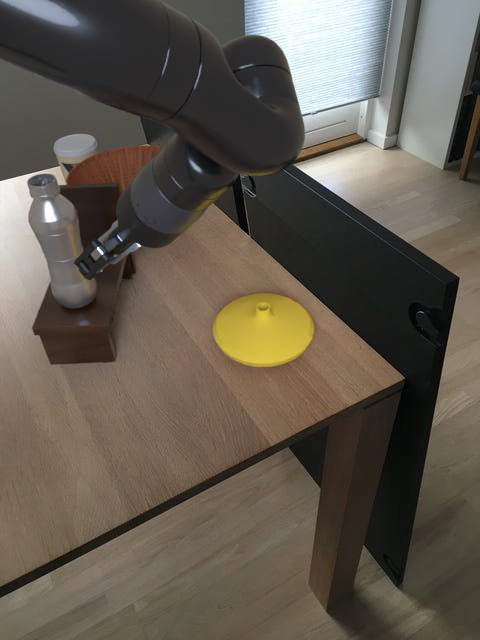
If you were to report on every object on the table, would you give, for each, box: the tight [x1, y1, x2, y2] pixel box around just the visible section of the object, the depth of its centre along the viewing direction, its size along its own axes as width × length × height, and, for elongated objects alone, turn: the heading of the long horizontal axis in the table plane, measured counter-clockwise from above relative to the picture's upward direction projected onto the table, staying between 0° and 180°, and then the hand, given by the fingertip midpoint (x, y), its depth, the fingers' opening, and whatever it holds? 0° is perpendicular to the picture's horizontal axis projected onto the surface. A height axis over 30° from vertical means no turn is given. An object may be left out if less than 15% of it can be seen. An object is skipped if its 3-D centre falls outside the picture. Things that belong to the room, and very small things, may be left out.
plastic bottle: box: [26, 173, 97, 308], centre depth 75 cm, size 6×7×20 cm
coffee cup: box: [53, 133, 99, 183], centre depth 120 cm, size 9×9×12 cm
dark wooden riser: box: [31, 183, 137, 365], centre depth 86 cm, size 24×11×18 cm, turn 1°
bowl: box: [65, 144, 164, 194], centre depth 109 cm, size 25×25×11 cm
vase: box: [212, 292, 315, 368], centre depth 83 cm, size 16×16×7 cm
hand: (110, 256), depth 69 cm, fingers open, 8 cm apart
